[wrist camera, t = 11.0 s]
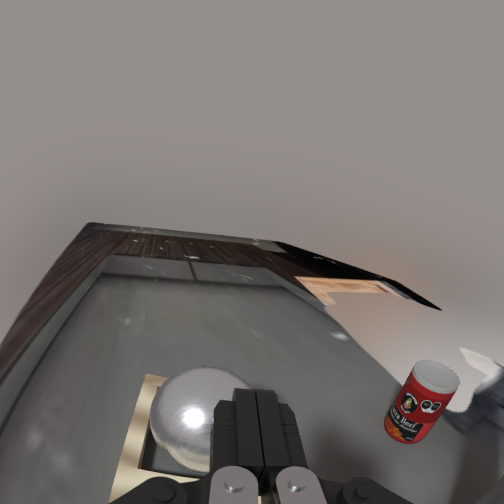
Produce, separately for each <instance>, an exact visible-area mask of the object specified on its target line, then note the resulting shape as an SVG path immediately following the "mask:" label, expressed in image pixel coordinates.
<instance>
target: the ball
mask: <svg viewBox="0 0 504 504" xmlns="http://www.w3.org/2000/svg"><path fill="white" fill-rule="evenodd" d="M234 388H243V389H253V388H252V387H251V386H250V385H249V384H248V383H247V382H246V381H245V380H244V379H242V378H241V377H240V376H238V375H236V374H234V373H233V372H230V371H228V370H225V369H222V368H219V367H213V366H196V367H191V368H187V369H184V370H182V371H180V372H178V373H176V374H174V375H172V376H171V377H170V378H168V379H167V380H166V381H165V382H164V383H163V384H162V385H161V386H160V387H159V389H158V390H157V392H156V394H155V396H154V398H153V400H152V404H151V408H150V427H151V431H152V434H153V437H154V439H155V441H156V443H157V445H158V446H159V448H160V449H161V450H162V451H163V453H164V454H165V455H166V456H167V457H168V458H169V459H171V460H172V461H173V462H175V463H176V464H178V465H180V466H181V467H184V468H186V469H189V470H192V471H196V472H201V473H209V464H210V432H211V426H212V419H213V412H214V408H215V407H216V405H217V403H218V402H219V400H228V401H232V396H233V391H234Z"/></svg>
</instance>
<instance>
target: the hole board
mask: <svg viewBox="0 0 504 504" xmlns="http://www.w3.org/2000/svg"><path fill="white" fill-rule="evenodd" d="M167 379H168V378H165V377H160V376H155V375H150V374H146V376H145V379H144V382H143V386H142V389H141V392H140V395H139V398H138V401H137V404H136V407H135V410H134V414H133V417H132V420H131V423H130V427H129V430H128V433H127V437H126V440H125V443H124V447H123V450H122V454H121V457H120V461H119V465H118V468H117V472H116V476H115V479H114V483H113V487H112V491H111V495H110V499H109V503H110V502H112V501H114V500H116V499H117V498H119V497H120V496H122V495H124V494H125V493H127V492H129V491H130V490H132V489H133V488H135V487H136V486H138V485H139V484H141V483H143V482H144V481H146V480H147V479H149V478H152V477H157V476H163V477H169V478H172V479H174V480H176V481H178V482H179V483H184V482H191V481H196V480H199V479H194V478H187V477H180V476H173V475H167V474H162V473H156V472H151V471H146V470H142V469H141V464H142V460H143V455H144V451H145V446H146V442H147V437H148V433H149V429H150V408H151V404H152V400H153V398H154V396H155V394H156V392H157V390H158V389H159V387H160V386H161V385H162V384H163V383H164V382H165V381H166V380H167ZM109 503H108V504H109ZM258 504H261V496H258Z"/></svg>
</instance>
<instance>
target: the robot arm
mask: <svg viewBox="0 0 504 504" xmlns="http://www.w3.org/2000/svg"><path fill="white" fill-rule="evenodd" d="M258 496H261V504H413V503H411V502H409V501H407V500H405V499H404V498H402V497H400V496H398V495H396V494H395V493H393V492H391V491H390V490H388V489H386V488H384V487H383V486H381V485H380V484H378V483H376V482H375V481H373V480H371V479H369V478H365V477H357V478H353V479H351V480H349V481H348V482H347V483H346V484H343V483H336V482H330V481H325V480H322V479H320V478H318V477H316V475H315V474H314V473H313V472H312V471H310V470H309V468H308V466H307V463H306V458H305V454H304V450H303V446H302V442H301V438H300V435H299V430H298V426H297V422H296V418H295V414H294V412H293V411H292V410H291V409H290V407H289V406H288V405H287V404H277V400H276V395H275V391H274V390H257V389H255V390H254V389H243V388H234V391H233V396H232V401H228V400H219V402H218V403H217V405H216V407H215V408H214V412H213V419H212V426H211V432H210V464H209V473H208V474H207V475H206V476H205V477H203V478H201V479H199V480H196V481H191V482H184V483H179V482H178V481H176V480H174V479H172V478H169V477H163V476H157V477H152V478H149V479H147V480H146V481H144V482H143V483H141V484H139V485H138V486H136V487H135V488H133V489H132V490H130V491H129V492H127V493H125V494H124V495H122V496H120V497H119V498H117V499H116V500H114V501H112V502H110V503H109V504H258ZM474 504H504V476H503V477H502V478H501V479H500V480H499V481H498V482H497V483H496V484H495V485H494V486H493V487H492V488H490V489H489V490H488V491H487V492H486V493H485V494H484V495H483V496H482V497H481V498H480V499H478V500H477V501H476V502H475V503H474Z"/></svg>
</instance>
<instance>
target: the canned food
mask: <svg viewBox="0 0 504 504" xmlns="http://www.w3.org/2000/svg"><path fill="white" fill-rule="evenodd" d="M459 384H460V382H459V378H458V376H457V374H456V373H455V372H454V371H453V370H452V369H450V368H449V367H447V366H446V365H444V364H442V363H439V362H436V361H430V360H422V361H419V362H417V363H416V364H415V366H414V367H413V369H412V371H411V373H410V374H409V376H408V378H407V380H406V382H405V384H404V386H403V388H402V389H401V391H400V393H399V395H398V397H397V398H396V400H395V402H394V404H393V405H392V407H391V409H390V410H389V412H388V414H387V416H386V418H385V423H384V427H385V430H386V431H387V433H388V434H389V435H390V436H391V437H392V438H393V439H395V440H396V441H399V442H401V443H406V444H413V443H417V442H419V441H420V440H422V439H423V438H424V437H425V436H426V435H427V434H428V432H429V431H430V429H431V428H432V427H433V425H434V424H435V422H436V421H437V420H438V418H439V417H440V415H441V414H442V412H443V411H444V409H445V408H446V406H447V405H448V403H449V402H450V400H451V398H452V397H453V395H454V394H455V392H456V390H457V388H458V386H459Z"/></svg>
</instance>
